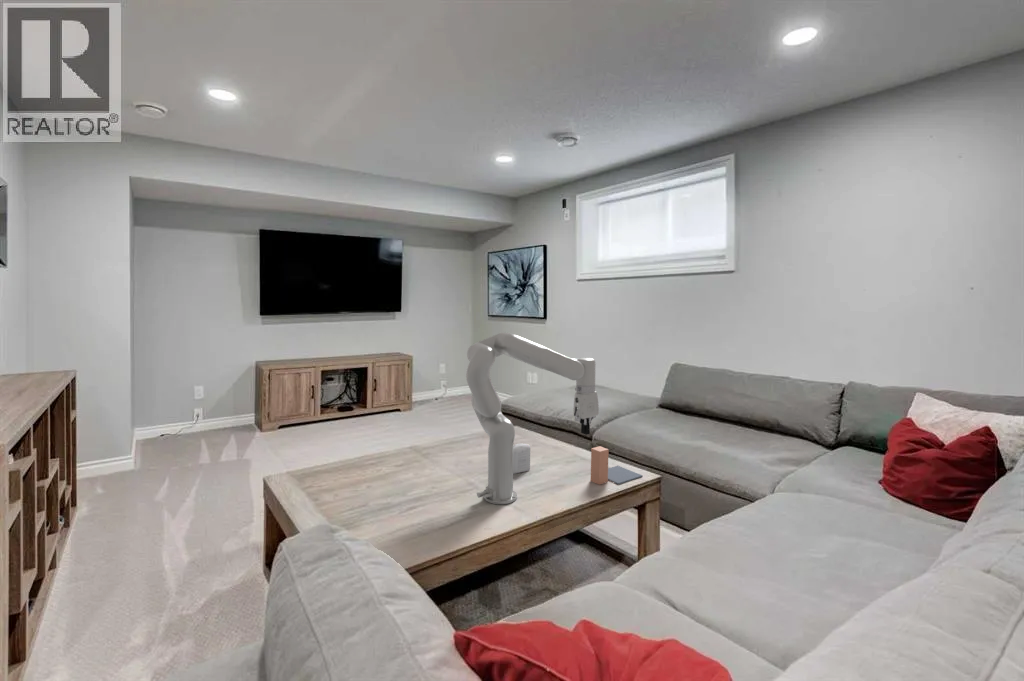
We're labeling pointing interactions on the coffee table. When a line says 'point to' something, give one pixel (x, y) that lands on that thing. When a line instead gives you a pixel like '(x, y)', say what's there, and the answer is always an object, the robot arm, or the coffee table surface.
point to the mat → (621, 475)
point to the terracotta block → (599, 465)
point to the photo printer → (521, 458)
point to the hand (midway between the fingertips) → (585, 433)
